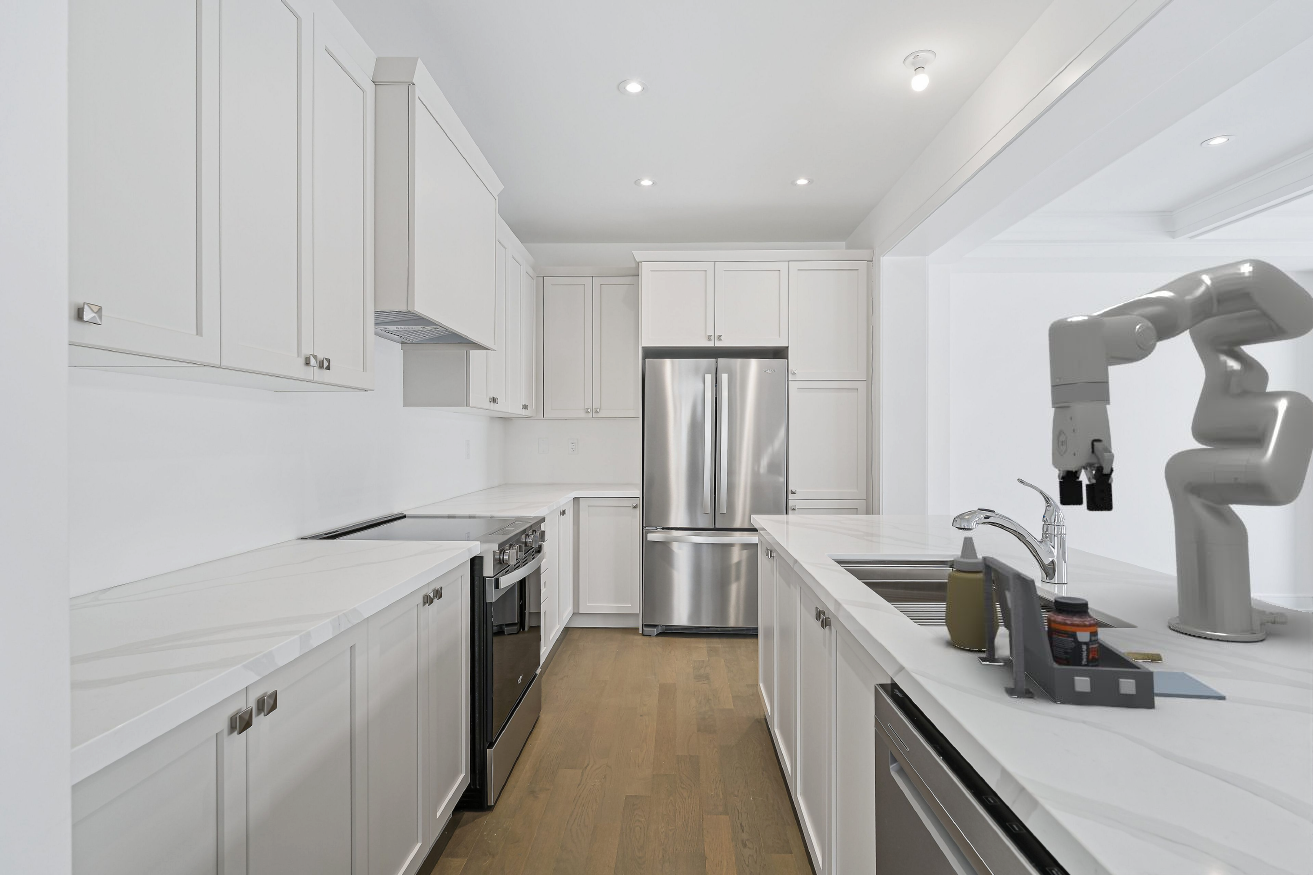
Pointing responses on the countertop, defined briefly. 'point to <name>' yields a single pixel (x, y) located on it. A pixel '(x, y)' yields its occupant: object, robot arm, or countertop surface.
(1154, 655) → the rod
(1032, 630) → the lid
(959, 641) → the squeeze bottle
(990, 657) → the stay bracket
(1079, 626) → the supplement bottle
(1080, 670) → the case
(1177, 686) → the mat
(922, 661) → the countertop surface
